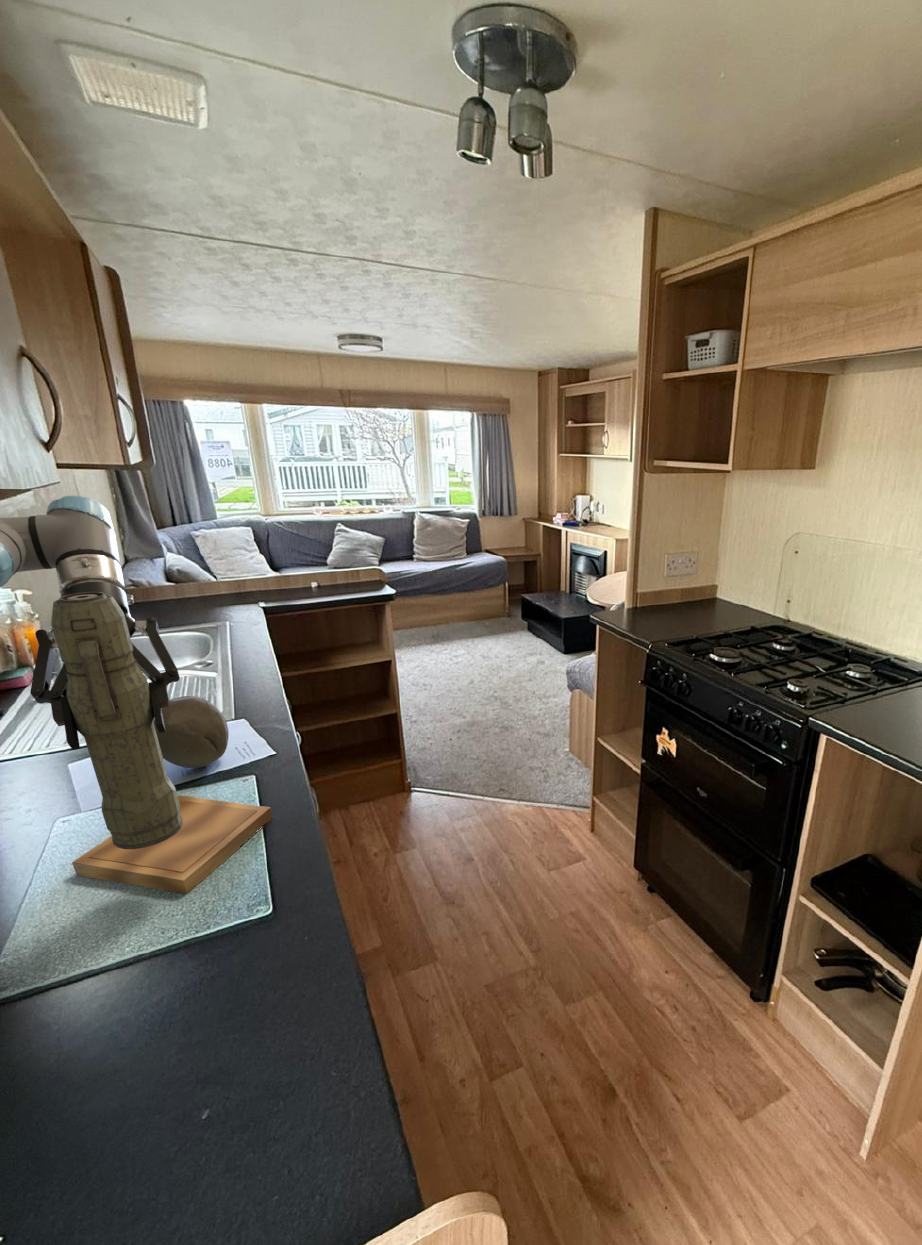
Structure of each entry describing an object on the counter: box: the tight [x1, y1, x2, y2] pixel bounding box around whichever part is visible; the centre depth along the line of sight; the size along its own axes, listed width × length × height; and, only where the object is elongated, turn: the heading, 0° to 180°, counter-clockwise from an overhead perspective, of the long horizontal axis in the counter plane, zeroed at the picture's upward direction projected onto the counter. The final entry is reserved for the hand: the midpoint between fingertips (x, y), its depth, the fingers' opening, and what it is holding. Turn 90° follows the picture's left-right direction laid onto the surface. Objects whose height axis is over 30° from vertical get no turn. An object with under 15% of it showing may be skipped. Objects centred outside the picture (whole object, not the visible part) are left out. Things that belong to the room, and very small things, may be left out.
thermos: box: [50, 592, 183, 849], centre depth 83 cm, size 9×12×35 cm
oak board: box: [72, 794, 273, 894], centre depth 102 cm, size 20×20×3 cm
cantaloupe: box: [154, 695, 230, 769], centre depth 125 cm, size 14×14×15 cm
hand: (118, 736), depth 81 cm, fingers closed on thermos, 9 cm apart
